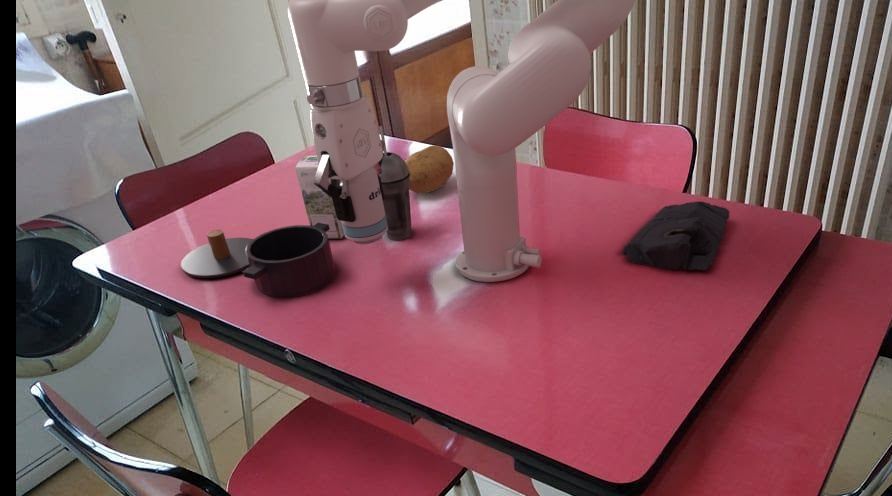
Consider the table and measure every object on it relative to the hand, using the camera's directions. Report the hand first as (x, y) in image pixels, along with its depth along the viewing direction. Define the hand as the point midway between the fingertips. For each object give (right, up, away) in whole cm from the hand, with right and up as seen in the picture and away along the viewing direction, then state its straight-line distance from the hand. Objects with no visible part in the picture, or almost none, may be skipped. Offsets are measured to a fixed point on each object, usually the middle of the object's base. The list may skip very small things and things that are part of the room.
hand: (361, 209), depth 107 cm
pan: (-13, -9, +11) cm, 20 cm away
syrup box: (-11, +1, +25) cm, 27 cm away
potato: (+7, +12, +39) cm, 41 cm away
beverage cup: (+3, 0, +22) cm, 22 cm away
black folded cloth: (+53, -3, +13) cm, 55 cm away
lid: (-29, -5, +18) cm, 34 cm away
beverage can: (0, -4, +3) cm, 5 cm away
